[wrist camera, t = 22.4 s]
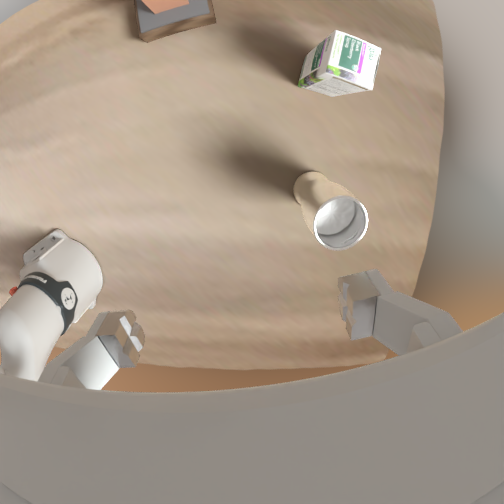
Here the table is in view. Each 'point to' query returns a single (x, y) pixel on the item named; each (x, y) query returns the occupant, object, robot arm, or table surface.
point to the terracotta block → (163, 4)
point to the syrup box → (340, 65)
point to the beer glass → (330, 211)
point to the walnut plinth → (172, 19)
